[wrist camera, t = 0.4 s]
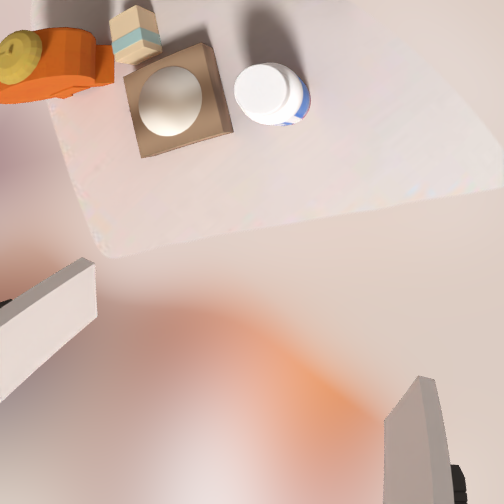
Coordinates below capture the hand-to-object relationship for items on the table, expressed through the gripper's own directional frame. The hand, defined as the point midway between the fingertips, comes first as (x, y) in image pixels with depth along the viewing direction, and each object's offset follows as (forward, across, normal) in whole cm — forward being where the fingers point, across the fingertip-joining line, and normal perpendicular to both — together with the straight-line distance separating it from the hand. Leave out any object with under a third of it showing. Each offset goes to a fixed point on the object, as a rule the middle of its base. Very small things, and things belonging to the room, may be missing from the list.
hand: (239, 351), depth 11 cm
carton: (+24, -24, +15) cm, 37 cm away
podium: (+24, -16, +7) cm, 30 cm away
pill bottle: (+24, -5, +10) cm, 27 cm away
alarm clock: (+24, -32, +10) cm, 42 cm away
